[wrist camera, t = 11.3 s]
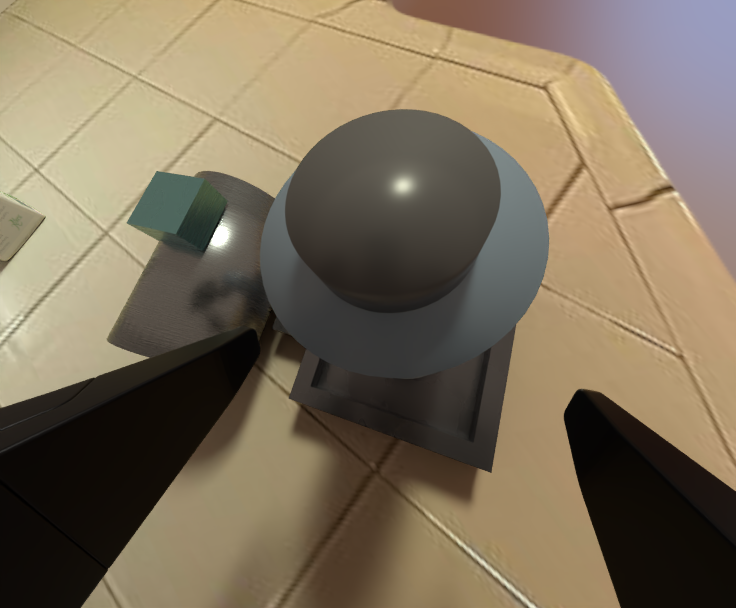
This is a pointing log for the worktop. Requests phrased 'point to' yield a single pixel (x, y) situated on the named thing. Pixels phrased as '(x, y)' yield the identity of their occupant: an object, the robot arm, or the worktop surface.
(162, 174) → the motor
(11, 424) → the robot arm
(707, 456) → the worktop surface
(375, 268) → the blue-grey capped bottle
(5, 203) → the syrup box
